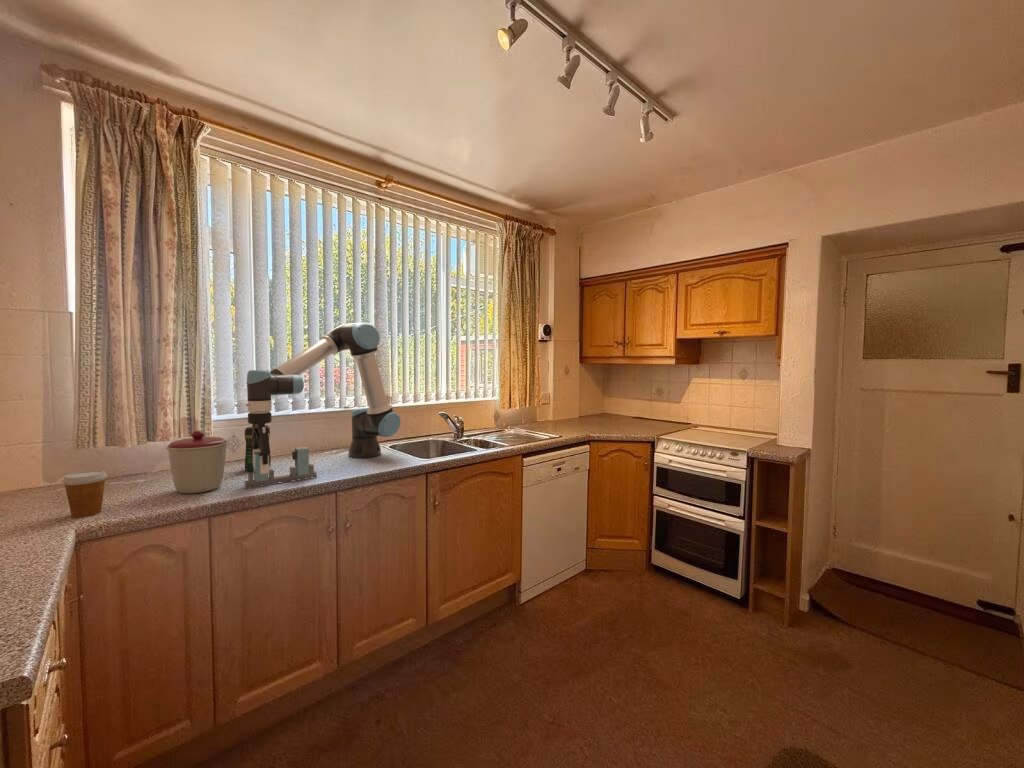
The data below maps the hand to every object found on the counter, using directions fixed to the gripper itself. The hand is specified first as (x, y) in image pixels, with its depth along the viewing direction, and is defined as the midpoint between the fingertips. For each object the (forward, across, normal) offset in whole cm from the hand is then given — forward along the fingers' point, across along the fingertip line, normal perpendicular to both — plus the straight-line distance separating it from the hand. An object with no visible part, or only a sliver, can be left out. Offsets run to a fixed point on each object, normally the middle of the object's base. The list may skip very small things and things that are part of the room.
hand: (260, 469), depth 160 cm
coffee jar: (+6, -28, +4) cm, 29 cm away
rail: (+6, 0, +7) cm, 9 cm away
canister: (+6, -7, -18) cm, 20 cm away
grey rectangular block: (+4, 0, 0) cm, 4 cm away
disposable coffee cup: (+6, +2, -46) cm, 46 cm away
